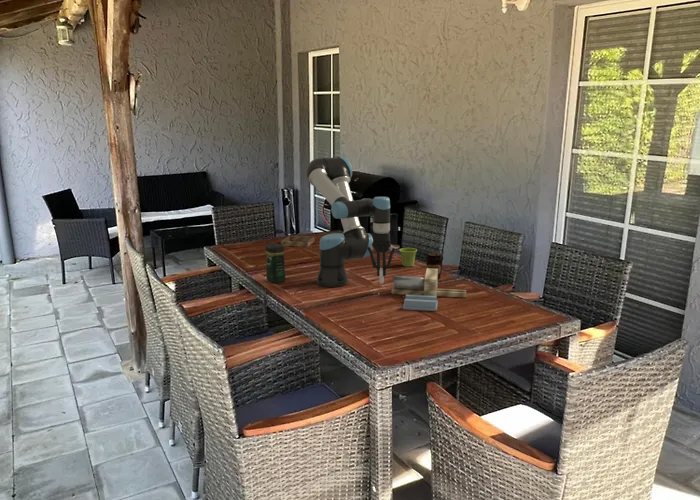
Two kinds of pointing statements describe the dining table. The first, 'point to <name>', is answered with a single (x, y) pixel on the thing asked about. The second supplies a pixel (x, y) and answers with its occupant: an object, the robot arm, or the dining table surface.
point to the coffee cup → (435, 262)
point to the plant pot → (408, 256)
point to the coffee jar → (275, 263)
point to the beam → (431, 287)
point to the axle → (409, 283)
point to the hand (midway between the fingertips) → (381, 282)
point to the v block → (420, 302)
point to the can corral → (298, 238)
